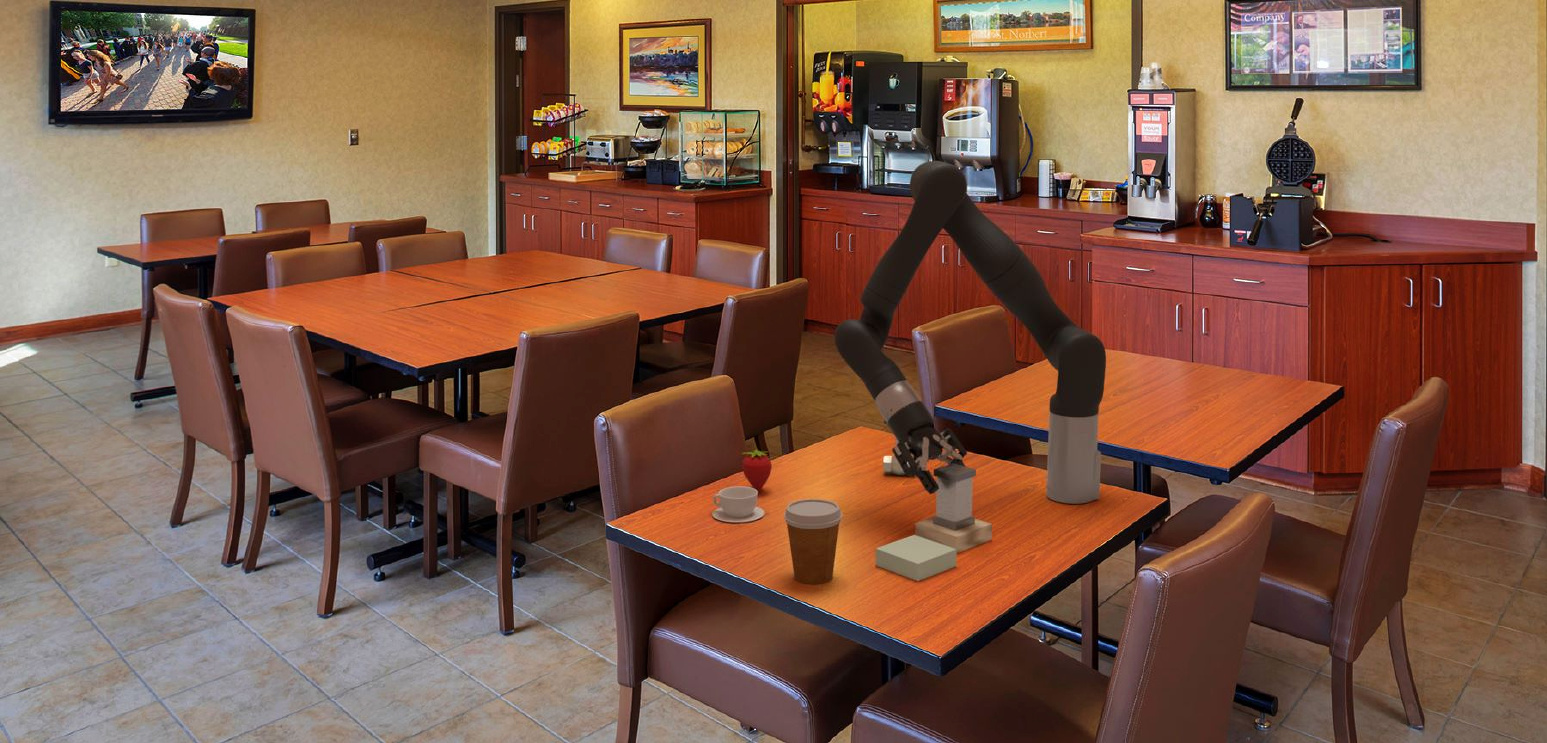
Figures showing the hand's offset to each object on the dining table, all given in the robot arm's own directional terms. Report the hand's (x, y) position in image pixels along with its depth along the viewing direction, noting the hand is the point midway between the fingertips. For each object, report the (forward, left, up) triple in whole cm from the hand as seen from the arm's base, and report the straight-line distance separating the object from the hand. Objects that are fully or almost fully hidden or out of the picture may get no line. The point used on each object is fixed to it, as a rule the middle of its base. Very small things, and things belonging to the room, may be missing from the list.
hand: (951, 486), depth 210 cm
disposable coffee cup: (+28, +12, -10) cm, 32 cm away
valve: (-2, -38, -10) cm, 40 cm away
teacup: (+35, -22, -10) cm, 42 cm away
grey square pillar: (0, +1, -7) cm, 7 cm away
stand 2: (0, +1, -10) cm, 10 cm away
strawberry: (+29, -34, -10) cm, 46 cm away
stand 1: (+10, +11, -10) cm, 18 cm away
